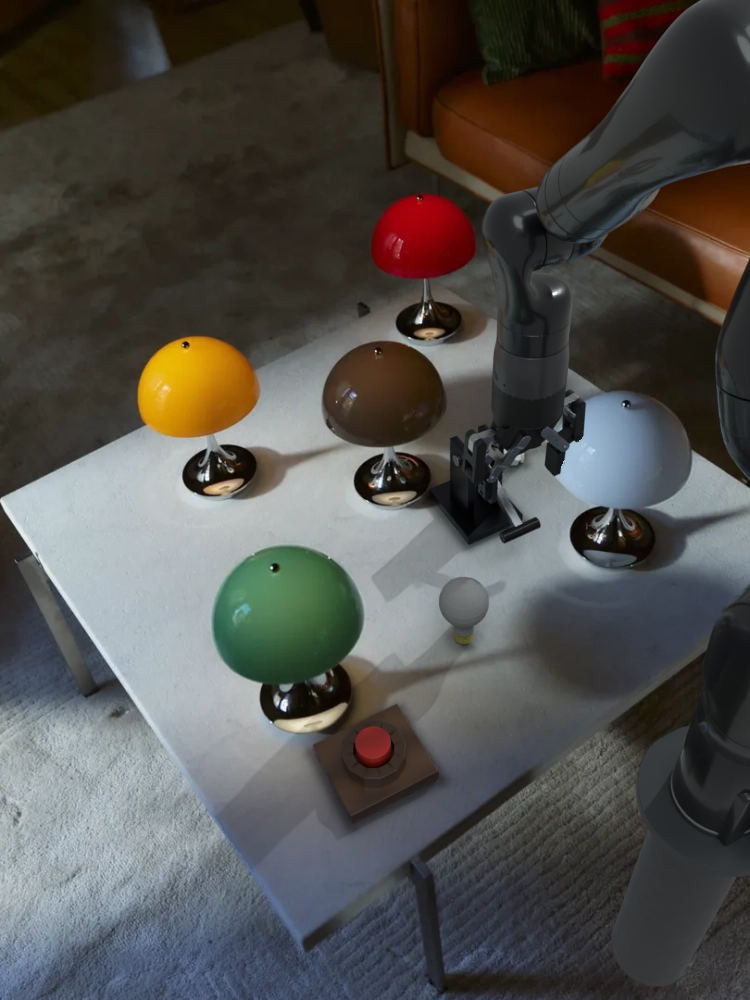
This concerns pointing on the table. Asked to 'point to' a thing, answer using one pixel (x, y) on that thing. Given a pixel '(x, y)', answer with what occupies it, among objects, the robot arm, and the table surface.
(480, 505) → the bracket
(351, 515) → the table surface
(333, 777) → the button block
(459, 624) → the light bulb
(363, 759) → the button
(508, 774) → the table surface
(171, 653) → the table surface
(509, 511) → the lever
